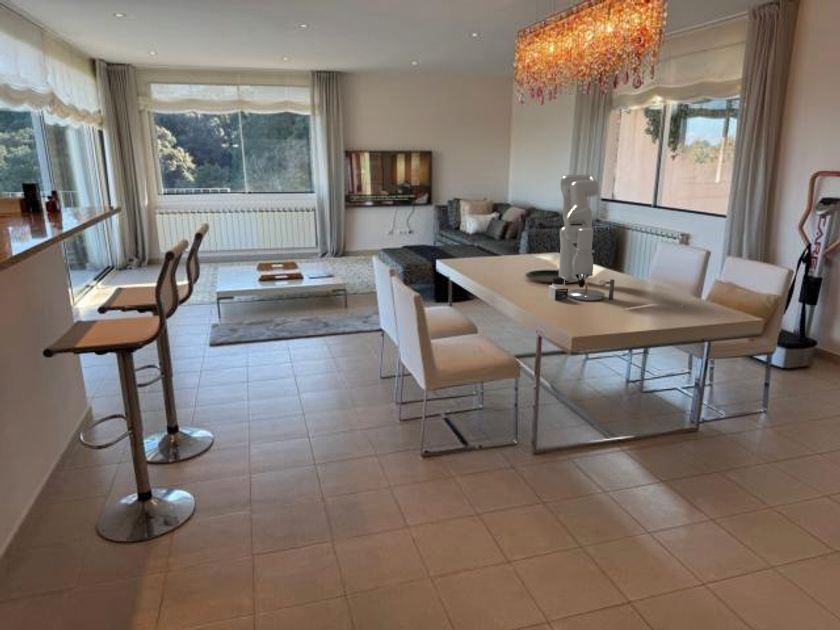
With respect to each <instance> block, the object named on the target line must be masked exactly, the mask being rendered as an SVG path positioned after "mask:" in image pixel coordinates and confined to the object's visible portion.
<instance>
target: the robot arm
mask: <svg viewBox="0 0 840 630" xmlns="http://www.w3.org/2000/svg"><path fill="white" fill-rule="evenodd" d="M560 190H561V193H562V198H563V202H562V204H563V205H562V219H563V222H564V223H563V224H564V225H563V227H561V228H560V229H559V240H560V251H559V263H558V265H559V268H558V276H560V277H564V278H565V280H566V281H569V282H568V283H577V284H578V287H579V289H584V286H585V284H586V281H587V279H588V278H589V277H593V274H594V255H593V253H595V250H594V249H592V248H593V239H594V229H593V228H592V227H593V210H592V208H591V207H589V201H588V199H589V198H590V197H596V196H597V195H598V193H599V185H598V181H597V180H596V178H595V177H594V175H591V174H566V175H563V176H562V177H561V179H560ZM571 224H582V225H571ZM574 244H576V246H575V245H574Z"/></svg>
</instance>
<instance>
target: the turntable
mask: <svg viewBox="0 0 840 630" xmlns="http://www.w3.org/2000/svg"><path fill="white" fill-rule="evenodd" d="M588 282H589V281H585V285H584V286H585V287H584V288H576V289H575V288H574V289H570V290H568V297H569V298H568V299H570V298H571V299H570V300H573V299H574V300H573V301H577V300H579V301H578V302H584V301H597V302H602V301H601V300H603V299H604V298H606V293H604V292H603V291H601V290H597V289H591V288H588V286H589V285H588V284H589V283H588ZM603 301H604V300H603Z"/></svg>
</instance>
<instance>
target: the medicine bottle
mask: <svg viewBox="0 0 840 630" xmlns="http://www.w3.org/2000/svg"><path fill="white" fill-rule="evenodd" d="M568 292H569V287H567V286H566V282H565V278H564V277H560V276H559V275H558V276H554V277H552V284H551V285H549V286H548V295H547V296H548V299H551V300H553V301H565V300H566V301H567V300H568V299H569V298H568Z"/></svg>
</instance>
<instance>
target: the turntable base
mask: <svg viewBox="0 0 840 630" xmlns="http://www.w3.org/2000/svg"><path fill="white" fill-rule="evenodd" d="M606 298H607V297H605V298H604V299H603V300H601V301H600V302H602V301H605V300H607V299H606ZM568 299H570V300H573V301H575V300H574V299H571V298H569V297H568ZM576 301H578V302H580V301H579V300H576ZM583 302H586V303H590V302H591V303H592V302H593V303H596V302H598V301H583Z"/></svg>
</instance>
